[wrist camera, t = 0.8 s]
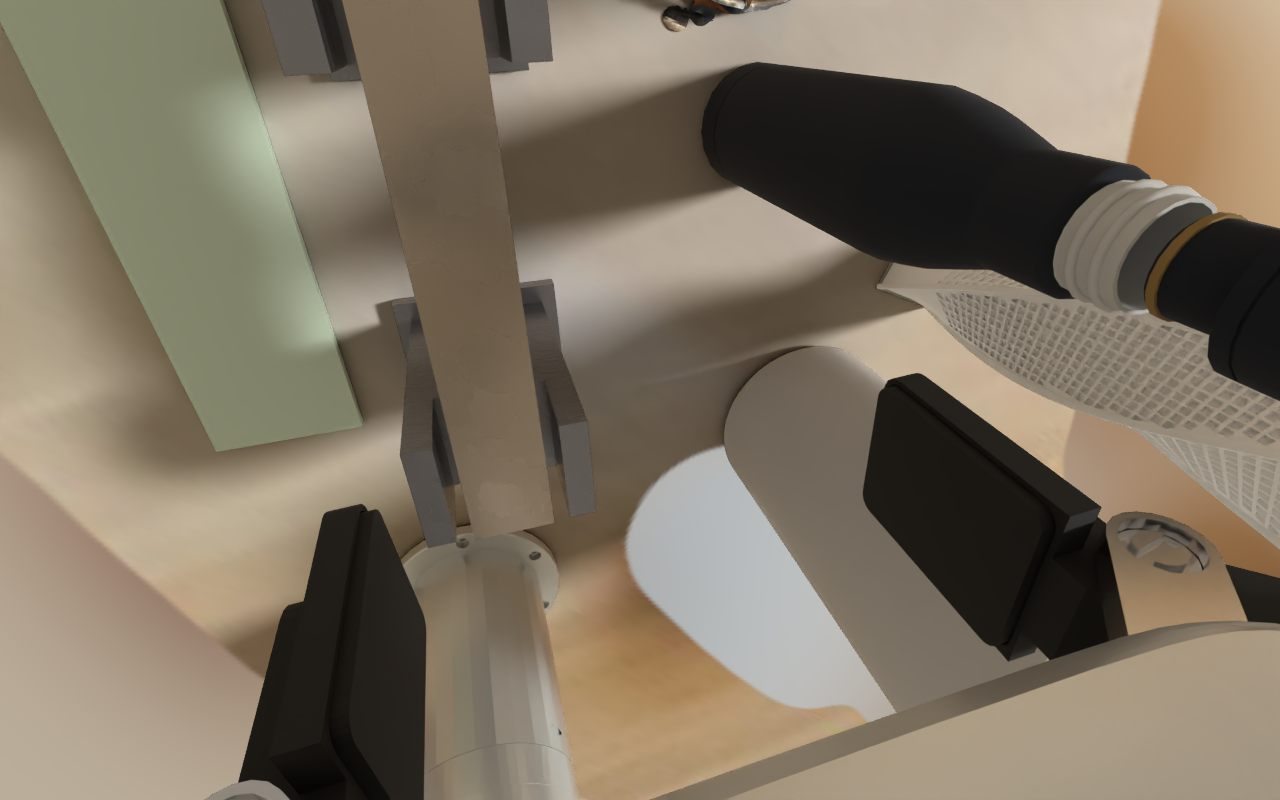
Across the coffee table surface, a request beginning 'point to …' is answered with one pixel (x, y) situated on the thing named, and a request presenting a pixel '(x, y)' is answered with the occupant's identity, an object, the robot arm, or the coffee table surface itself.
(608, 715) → the coffee table surface
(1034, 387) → the skyscraper
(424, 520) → the post
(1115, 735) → the robot arm
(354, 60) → the post
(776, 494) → the cylinder vase
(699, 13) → the pastry
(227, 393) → the mat
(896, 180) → the wine bottle
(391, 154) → the rail
